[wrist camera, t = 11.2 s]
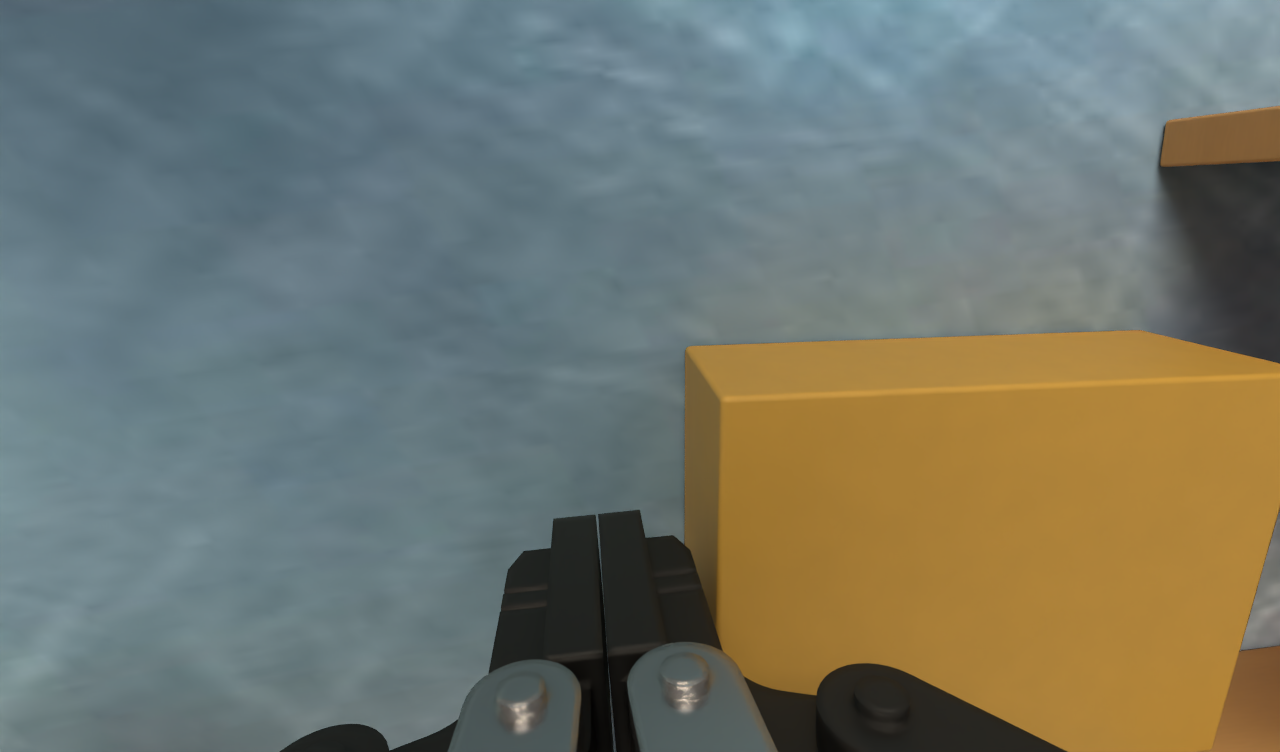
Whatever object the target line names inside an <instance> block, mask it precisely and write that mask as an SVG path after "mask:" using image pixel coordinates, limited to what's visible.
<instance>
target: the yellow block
mask: <svg viewBox="0 0 1280 752" xmlns="http://www.w3.org/2000/svg"><path fill="white" fill-rule="evenodd" d="M1279 509H1280V363H1275V362H1271V361H1267V360H1263V359H1259V358H1255V357H1250V356H1246V355H1242V354H1238V353H1234V352H1229V351H1225V350H1221V349H1217V348H1213V347H1209V346H1204V345H1200V344H1196V343H1192V342H1188V341H1183V340H1179V339H1175V338H1171V337H1167V336H1163V335H1158V334H1154V333H1150V332H1146V331H1142V330H1128V331H1100V332H1072V333H1044V334H1016V335H988V336H959V337H931V338H903V339H875V340H847V341H819V342H791V343H763V344H735V345H707V346H689V347H687V348H686V350H685V540H684V545H685V546H686V547H687V548H689V549H690V551H691V554H692V557H693V560H694V563H695V566H696V570H697V573H698V575H699V578H700V581H701V585H702V589H703V591H704V594H705V597H706V600H707V603H708V606H709V609H710V612H711V616H712V619H713V622H714V625H715V628H716V631H717V634H718V637H719V640H720V643H721V647H722V650H723V652H724V653H726V654H727V655H728V656H729V657H731V658H732V659H733V660H734V661H735V663H736V664H737V665H738V667H739V669H740V670H741V672H742V674H743V676H744V677H746V678H748V679H749V680H751V681H753V682H755V683H757V684H760V685H762V686H765V687H768V688H772V689H776V690H781V691H787V692H794V693H802V694H809V695H817V689H818V687H819V685H820V683H821V681H822V680H823V679H824V678H825V676H827V675H828V674H829V673H830V672H832V671H834V670H836V669H838V668H840V667H843V666H846V665H851V664H857V663H872V664H880V665H885V666H890V667H893V668H896V669H899V670H902V671H904V672H906V673H909V674H911V675H913V676H915V677H917V678H919V679H921V680H923V681H925V682H927V683H929V684H931V685H933V686H935V687H937V688H939V689H941V690H943V691H945V692H947V693H949V694H952V695H954V696H956V697H958V698H960V699H962V700H964V701H966V702H968V703H970V704H972V705H974V706H976V707H978V708H980V709H982V710H984V711H986V712H988V713H990V714H992V715H994V716H996V717H998V718H1000V719H1002V720H1004V721H1006V722H1008V723H1010V724H1012V725H1014V726H1017V727H1019V728H1021V729H1023V730H1025V731H1027V732H1029V733H1031V734H1033V735H1035V736H1037V737H1039V738H1041V739H1043V740H1045V741H1047V742H1049V743H1051V744H1053V745H1055V746H1057V747H1059V748H1061V749H1063V750H1065V751H1067V752H1200V751H1209V750H1210V749H1211V748H1212V747H1213V744H1214V740H1215V736H1216V733H1217V729H1218V726H1219V722H1220V719H1221V715H1222V712H1223V708H1224V705H1225V701H1226V697H1227V694H1228V690H1229V687H1230V683H1231V680H1232V676H1233V673H1234V669H1235V665H1236V662H1237V658H1238V655H1239V651H1240V648H1241V644H1242V641H1243V637H1244V633H1245V630H1246V626H1247V623H1248V619H1249V616H1250V612H1251V609H1252V605H1253V601H1254V598H1255V594H1256V591H1257V587H1258V584H1259V580H1260V577H1261V573H1262V570H1263V566H1264V562H1265V559H1266V555H1267V552H1268V548H1269V545H1270V541H1271V538H1272V534H1273V530H1274V527H1275V523H1276V520H1277V516H1278V513H1279Z"/></svg>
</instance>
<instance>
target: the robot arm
mask: <svg viewBox="0 0 1280 752" xmlns="http://www.w3.org/2000/svg"><path fill="white" fill-rule="evenodd" d="M598 518H599V533H600V548H601V563H602V578H603V591H602V580H601V569H600V558H599V547H598V536H597V525H596V516H595V515H586V516H576V517H566V518H556V519H553V529H552V542H551V548H549V549H539V550H530V551H524V552H523V553H522V554H521V555H520V556H519V557H518V559H517V560H516V561H515V562H514V563H513V565H512V566H511V567H510V568H509V569H508V573H507V578H506V583H505V589H504V594H503V599H502V605H501V612H500V615H499V621H498V626H497V631H496V637H495V642H494V647H493V653H492V658H491V663H490V668H489V674H488V675H486V676H485V677H484V678H482V679H481V680H480V681H479V682H478V683H477V684H476V685H475V686H474V687H473V688H472V689H471V691H470V692H469V694H468V695H467V697H466V699H465V701H464V704H463V706H462V709H461V712H460V716H459V719H458V720H456V721H455V722H454V723H452V724H451V725H449V726H447V727H446V728H444V729H442V730H440V731H438V732H436V733H434V734H431V735H429V736H427V737H424V738H421V739H419V740H416V741H414V742H411V743H408V744H406V745H403V746H400V747H398V748H395V749H393V750H390V751H389V748H388V745H387V741H386V740H385V738H384V737H383V735H382V734H381V733H379V732H378V731H377V730H375V729H373V728H371V727H369V726H365V725H360V724H344V725H337V726H332V727H328V728H324V729H321V730H318V731H316V732H313V733H311V734H309V735H306V736H304V737H302V738H301V739H299V740H297V741H295V742H293V743H292V744H290V745H289V746H287V747H286V748H284V749H283V750H281V751H280V752H614V750H613V735H612V720H611V704H610V689H609V674H610V685H611V696H612V707H613V718H614V729H615V740H616V751H617V752H1067V751H1065V750H1063V749H1061V748H1059V747H1057V746H1055V745H1053V744H1051V743H1049V742H1047V741H1045V740H1043V739H1041V738H1039V737H1037V736H1035V735H1033V734H1031V733H1029V732H1027V731H1025V730H1023V729H1021V728H1019V727H1017V726H1014V725H1012V724H1010V723H1008V722H1006V721H1004V720H1002V719H1000V718H998V717H996V716H994V715H992V714H990V713H988V712H986V711H984V710H982V709H980V708H978V707H976V706H974V705H972V704H970V703H968V702H966V701H964V700H962V699H960V698H958V697H956V696H954V695H952V694H949V693H947V692H945V691H943V690H941V689H939V688H937V687H935V686H933V685H931V684H929V683H927V682H925V681H923V680H921V679H919V678H917V677H915V676H913V675H911V674H909V673H906V672H904V671H902V670H899V669H896V668H893V667H890V666H885V665H880V664H872V663H857V664H851V665H846V666H843V667H840V668H838V669H836V670H834V671H832V672H830V673H829V674H828V675H827V676H825V678H824V679H823V680H822V681H821V683H820V685H819V687H818V689H817V695H809V694H802V693H794V692H787V691H781V690H776V689H772V688H768V687H765V686H762V685H760V684H757V683H755V682H753V681H751V680H749V679H748V678H746V677H744V676H743V674H742V672H741V670H740V669H739V667H738V665H737V664H736V663H735V661H734V660H733V659H732V658H731V657H729V656H728V655H727V654H726V653H724V652H723V650H722V647H721V643H720V640H719V637H718V634H717V631H716V628H715V625H714V622H713V619H712V616H711V612H710V609H709V606H708V603H707V600H706V597H705V594H704V591H703V589H702V585H701V581H700V578H699V575H698V573H697V570H696V566H695V563H694V560H693V557H692V554H691V551H690V549H689V548H687V547H686V546H685V545H684V544H683V543H681V542H680V541H679V540H678V539H677V538H676V537H674V536H673V535H671V536H661V537H652V538H645V534H644V529H643V524H642V519H641V514H640V510H633V511H624V512H614V513H604V514H598ZM603 592H604V603H603ZM604 607H605V615H604ZM605 622H606V628H605ZM606 637H607V643H606ZM607 652H608V658H607ZM608 663H609V674H608Z"/></svg>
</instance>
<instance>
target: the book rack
mask: <svg viewBox="0 0 1280 752" xmlns="http://www.w3.org/2000/svg"><path fill="white" fill-rule="evenodd" d="M1275 161H1280V106H1275V107H1267V108H1259V109H1251V110H1243V111H1236V112H1228V113H1220V114H1212V115H1205V116H1197V117H1189V118H1181V119H1174V120H1169V121H1167V122H1166V125H1165V132H1164V139H1163V146H1162V154H1161V161H1160V166H1162V167H1174V166H1194V165H1214V164H1235V163H1255V162H1275ZM1200 752H1280V646H1273V647H1265V648H1258V649H1250V650H1243V651H1239V655H1238V658H1237V662H1236V665H1235V669H1234V673H1233V676H1232V680H1231V683H1230V687H1229V690H1228V694H1227V697H1226V701H1225V705H1224V708H1223V712H1222V715H1221V719H1220V722H1219V726H1218V729H1217V733H1216V736H1215V740H1214V744H1213V747H1212V748H1211V749H1210V750H1209V751H1200Z"/></svg>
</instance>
